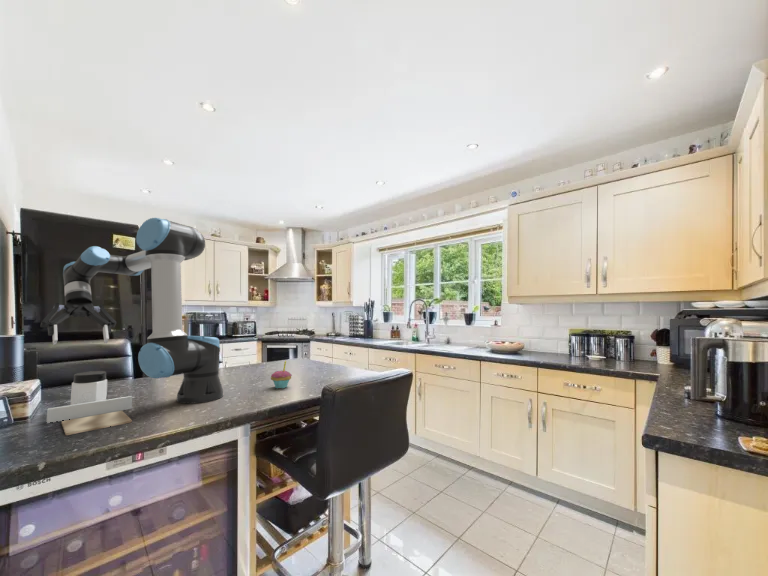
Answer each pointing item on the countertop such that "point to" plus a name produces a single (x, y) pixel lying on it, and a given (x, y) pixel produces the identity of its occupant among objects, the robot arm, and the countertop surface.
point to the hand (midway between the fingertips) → (82, 341)
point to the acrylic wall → (88, 409)
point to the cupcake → (281, 378)
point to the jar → (89, 387)
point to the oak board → (95, 422)
